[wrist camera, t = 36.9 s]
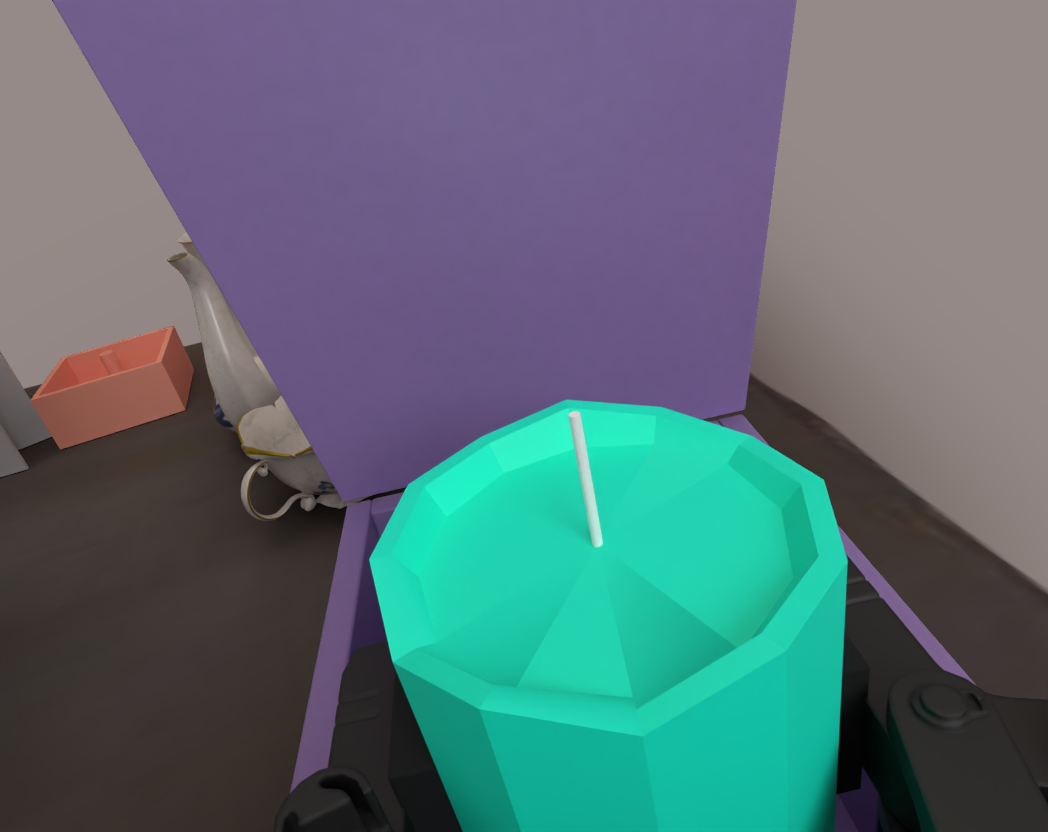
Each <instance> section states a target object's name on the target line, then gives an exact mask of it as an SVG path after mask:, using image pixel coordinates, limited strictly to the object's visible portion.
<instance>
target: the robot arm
mask: <svg viewBox="0 0 1048 832" xmlns="http://www.w3.org/2000/svg"><path fill="white" fill-rule="evenodd" d="M846 557H847V560H848V565H847V585H846V606H845V626H844V647H843V667H842V687H841V708H840V728H839V749H838V769H837V789H836V794H840V793H845V792H849V791H853V790H858V789H861V776H862V767H863V768H864V770H865V772H866V773H867V775H868V777H869V778H870V780H871V782H872V783H873V785H874V787H875V788H876V790H877V792H878V801H877V811H876V821H875V832H1048V700H1042V699H1026V698H1011V697H1004V696H997V695H992V694H989V693H986V692H984V691H983V690H982V689H980V688H979V687H977V686H976V685H975V684H973V683H972V682H970V681H969V680H967V679H966V678H963V677H961V676H958V675H956V674H953V673H950V672H948V671H945V670H943V669H942V668H941V667H940V666H939V665H938V664H937V663H936V662H935V661H934V660H933V658H932V657H931V656H930V655H929V653H928V652H927V651H926V650H925V649H924V647H923V646H922V645H921V644H920V643H919V641H918V640H917V639H916V638H915V637H914V635H913V634H912V633H911V632H910V630H909V629H908V628H907V627H906V626H905V624H904V623H903V622H902V621H901V620H900V618H899V617H898V616H897V615H896V614H895V612H894V611H893V610H892V609H891V608H890V606H889V605H888V604H887V603H886V601H885V600H884V599H883V598H880V596H879V593H878V592H877V591H876V589H875V588H874V587H873V586H872V585H871V583H870V582H869V581H866V579H865V576H864V575H863V574H862V572H861V571H860V570H859V569H858V568H857V566H856V565H855V564H854V563H853V562H852V560H851V559H850V558H849V557H848V555H846ZM338 702H339V705H337V709H336V716H335V727H334V729H333V736H332V742H331V749H330V755H329V762H328V768H325V769H321V770H318V771H317V772H315V773H313V774H312V775H310V776H309V777H307V778H306V779H304V780H303V781H301V782H300V783H299V784H298V785H297V786H296V787H295V788H294V789H293V791H292V792H291V793H290V794H289V795H288V796H287V797H286V798H285V800H284V802H283V804H282V806H281V808H280V810H279V812H278V814H277V816H276V818H275V824H274V831H273V832H463V831H462V829H461V826H460V824H459V821H458V819H457V817H456V814H455V812H454V809H453V807H452V805H451V802H450V800H449V797H448V795H447V793H446V790H445V788H444V785H443V783H442V780H441V778H440V776H439V773H438V771H437V768H436V766H435V764H434V761H433V759H432V756H431V754H430V751H429V749H428V747H427V744H426V742H425V739H424V737H423V735H422V732H421V730H420V727H419V725H418V723H417V720H416V718H415V715H414V713H413V710H412V708H411V706H410V703H409V701H408V698H407V696H406V694H405V691H404V689H403V686H402V684H401V681H400V679H399V677H398V674H397V672H396V669H395V667H394V665H393V662H392V658H391V653H390V649H389V645H388V641H387V642H383V643H378V644H374V645H370V646H365V647H361V648H357V649H356V650H355V652H354V654H353V655H352V657H351V659H350V661H349V662H348V664H347V666H346V668H345V669H344V671H343V673H342V677H341V683H340V690H339V696H338Z"/></svg>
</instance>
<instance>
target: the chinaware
mask: <svg viewBox="0 0 1048 832" xmlns="http://www.w3.org/2000/svg"><path fill="white" fill-rule="evenodd" d="M176 240H177V241H178V242H179V243H181V244H182V245H183V246H184V248H185V249H186V250H187V252H188V253H189V254H188V253H185V252H184V253H178V254H175V255H173V256H171V257H169V258H168V259H167V261H168V262H169V263H170V264H171V265H172V266H174V267H175V268H176V269H177V270H178V271H179V272H180V273H181V274H182V275H183V277H184V278H185V280H186V282H187V284H188V285H189V288H190V291H191V294H192V298H193V302H194V307H195V311H196V315H197V320H198V325H199V329H200V335H201V340H202V345H203V351H204V356H205V362H206V367H207V371H208V375H209V378H210V382H211V385H212V388H213V390H214V393H215V398H214V415H215V418H216V420H217V421H218V423H219V424H221V425H222V426H224V427H225V428H228V429H230V430H232V431H234V432H237V434H238V436H239V439H240V441H241V443H242V444H241V449H242V450H243V451H244V452H245V454H246V455H247V456H248V457H250V458H252V459H255V460H257V459H260V460H261V461H259V462H258V463H256V464H255V465H253V466H252V467H251V468H250V469H249V470H248V471H247V473H246V474H245V476H244V478H243V480H242V484H241V498H242V502H243V505H244V507H245V509H246V510H247V512H248V513H249V514H250V515H251V516H253V517H254V518H256V519H258V520H262V521H274V520H277V519H279V518H280V517H282V516H283V515H284V514H285V513H286V512H287V510H288V509H289V508H290V506H291V505H292V503H293V502H294V501H295V500H297V499H299V498H302V500H301V507H302V508H303V509H305V510H306V511H310V510H312V509H313V508H314V507H315V505H316V502H317V503H321V504H323V505H326V506H329V507H336V508H338V509H341V508H343V507H345V506H348V505H350V504H354V503H356V502H358V501H360V500H362V499H364V498H366V497H369V496H366V497H362V498H357V499H353V500H348V501H342V499H341V497H340V495H339V494H338V492H337V490H336V489H335V487H334V485H333V483H332V482H331V480H330V478H329V477H328V475H327V473H326V471H325V470H324V468H323V466H322V464H321V463H320V461H319V459H318V458H317V456H316V454H315V452H314V451H313V449H312V447H311V446H310V444H309V442H308V440H307V439H306V437H305V435H304V433H303V432H302V430H301V428H300V427H299V425H298V423H297V421H296V420H295V418H294V416H293V414H292V413H291V411H290V409H289V408H288V406H287V404H286V402H285V401H284V399H283V397H282V396H281V394H280V392H279V390H278V389H277V387H276V385H275V383H274V382H273V380H272V378H271V377H270V375H269V373H268V371H267V370H266V368H265V366H264V365H263V363H262V361H261V359H260V358H259V356H258V354H257V352H256V351H255V349H254V347H253V346H252V344H251V342H250V340H249V339H248V337H247V335H246V334H245V332H244V330H243V328H242V327H241V325H240V323H239V321H238V320H237V318H236V316H235V315H234V313H233V311H232V309H231V308H230V306H229V304H228V302H227V301H226V299H225V297H224V296H223V294H222V292H221V290H220V289H219V287H218V285H217V284H216V282H215V280H214V278H213V277H212V275H211V273H210V271H209V270H208V268H207V266H206V265H205V263H204V261H203V259H202V258H201V256H200V254H199V253H198V251H197V249H196V247H195V246H194V244H193V242H192V240H191V239H190V237H189V235H188V234H187V233H184V234H182V236H181V237H179V238H177V239H176ZM262 465H264V468H262V467H261V466H262ZM268 469H269V470H270V471H271V472H272V473H273V474H274V475H275V476H276V477H277V478H278V479H279V480H281V481H282V482H284V483H285V484H287V485H288V486H290V487H292V488H294V489H297V490H299V491H301V492H302V493H299V494H296V495H294V496H292V497H291V498H290V499H289V500H288V501H287V502H286V503H285V505H284V506H283V507H282V508H281V509H280V510H279V511H278V512H276V513H275V514H272V515H261V514H259V513H257V512H256V511H255V510H254V508H253V507H252V505H251V501H250V493H249V492H250V484H251V481H252V478H253V475H254V474H255V472H256V471H257V473H258V474H260V475H261V476H263V477H264V476H267V475H268V471H267V470H268ZM312 494H318V495H320V496H319V497H318V498H317V499H315V497H314V495H312ZM370 496H372V495H370Z"/></svg>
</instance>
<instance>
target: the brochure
mask: <svg viewBox="0 0 1048 832" xmlns="http://www.w3.org/2000/svg"><path fill="white" fill-rule="evenodd" d="M50 437H52V435H51V434H50V432H49V431H48V429H47V427H46V426H45V424H44V422H43V421H42V419H41V418H40V416H39V414H38V413H37V411H36V410H35V408H34V406H33V405H32V403H31V401H30V398H29V397H28V395H27V393H26V392H25V390H24V389H23V387H22V386H21V384H20V382H19V381H18V379H17V377H16V376H15V374H14V373H13V371H12V369H11V368H10V366H9V364H8V363H7V361H6V360H5V358H4V356H3V355H2V353H1V352H0V477H3V476H6V475H10V474H13V473H17V472H20V471H23V470H27V469H28V468H29V467H28V465H27V464H26V462H25V461H24V459H23V458H22V456H21V455H20V453H19V452H18V450H20V449H22V448H25V447H27V446H30V445H32V444H35V443H37V442H40V441H42V440H45V439H47V438H50Z"/></svg>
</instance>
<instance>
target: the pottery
mask: <svg viewBox="0 0 1048 832" xmlns="http://www.w3.org/2000/svg"><path fill="white" fill-rule="evenodd" d="M193 372H194V368H193V365H192V363H191V361H190V359H189V357H188V355H187V353H186V351H185V349H184V346H183V345H182V342H181V340H180V338H179V336H178V334H177V332H176V330H175V328H174V326H171V327H168V328H164V329H161V330H157V331H154V332H150V333H147V334H143V335H140V336H136V337H133V338H129V339H126V340H122V341H119V342H115V343H112V344H109V345H105V346H101V347H98V348H94V349H91V350H87V351H84V352H80V353H77V354H73V355H70V356H67V357H64V358H61V359H60V361H59V362H58V364H57V365H56V366H55V367H54V369H53V370H52V372H51V373H50V374H49V376H48V377H47V378H46V380H45V381H44V383H43V384H42V385H41V386H40V388H39V389H38V391H37V392H36V393H35V395H34V396H33V397H32V399H31V400H30V401H31V403H32V405H33V406H34V408H35V410H36V411H37V413H38V414H39V416H40V418H41V419H42V421H43V422H44V424H45V426H46V427H47V429H48V431H49V432H50V434H51V435H52V437H53V439H54V440H55V442H56V443H57V445H58V447H59V448H60V450H61V449H64V448H67V447H70V446H74V445H77V444H80V443H83V442H86V441H89V440H93V439H96V438H99V437H102V436H105V435H108V434H112V433H115V432H118V431H121V430H124V429H127V428H131V427H134V426H137V425H140V424H143V423H147V422H150V421H153V420H156V419H159V418H162V417H166V416H169V415H172V414H175V413H178V412H181V411H185V410H186V406H187V401H188V396H189V391H190V387H191V382H192V377H193Z"/></svg>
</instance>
